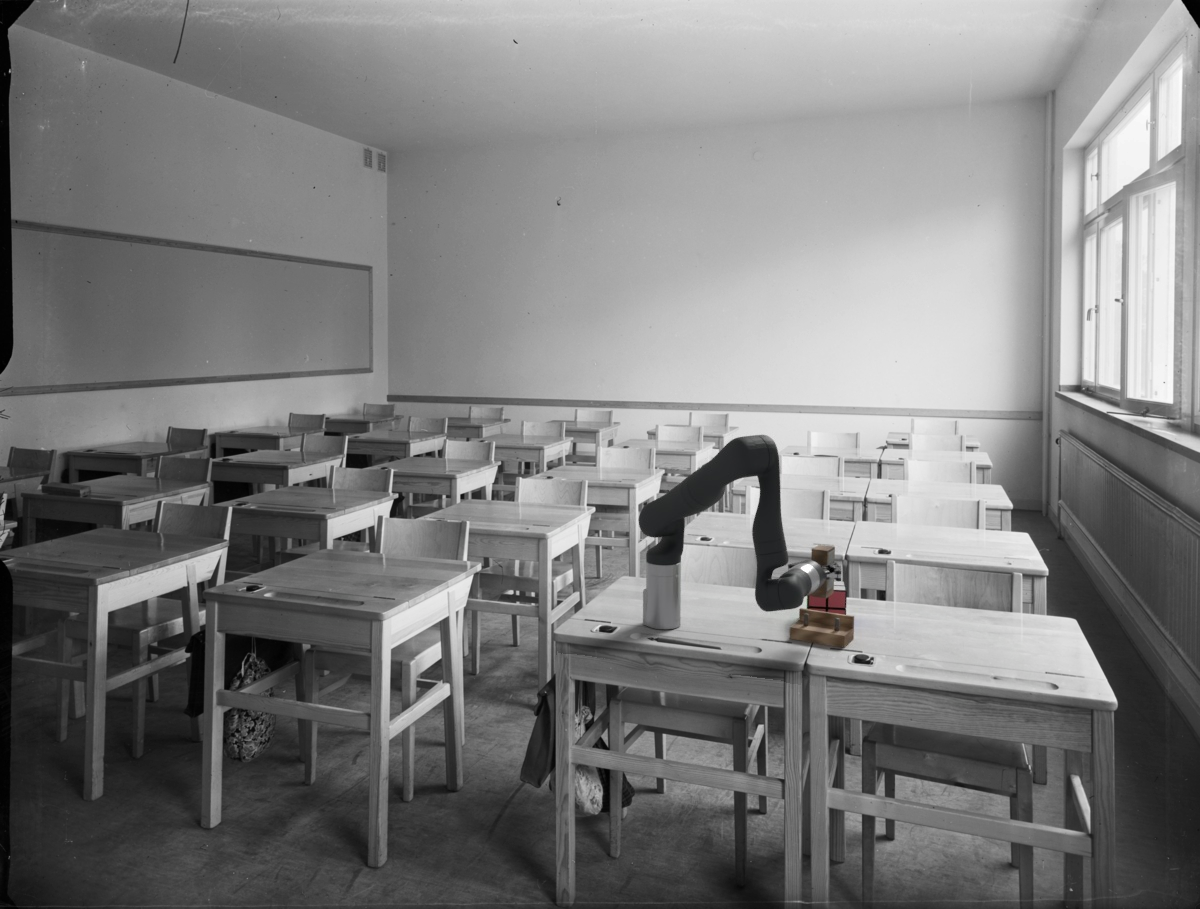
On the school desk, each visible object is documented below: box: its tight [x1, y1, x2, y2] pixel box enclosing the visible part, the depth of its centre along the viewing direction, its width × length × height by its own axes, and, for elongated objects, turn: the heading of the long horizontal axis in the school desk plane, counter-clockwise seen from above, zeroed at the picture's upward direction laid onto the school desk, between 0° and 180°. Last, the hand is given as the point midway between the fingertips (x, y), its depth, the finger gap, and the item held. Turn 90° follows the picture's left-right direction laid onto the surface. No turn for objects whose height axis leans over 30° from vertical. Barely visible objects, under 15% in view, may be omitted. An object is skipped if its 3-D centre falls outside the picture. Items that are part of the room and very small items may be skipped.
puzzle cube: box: [806, 580, 848, 615], centre depth 248 cm, size 10×10×10 cm
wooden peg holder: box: [789, 607, 855, 649], centre depth 233 cm, size 14×8×6 cm, turn 59°
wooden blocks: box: [810, 544, 836, 598], centre depth 231 cm, size 4×6×12 cm
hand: (826, 565), depth 233 cm, fingers closed on wooden blocks, 4 cm apart
